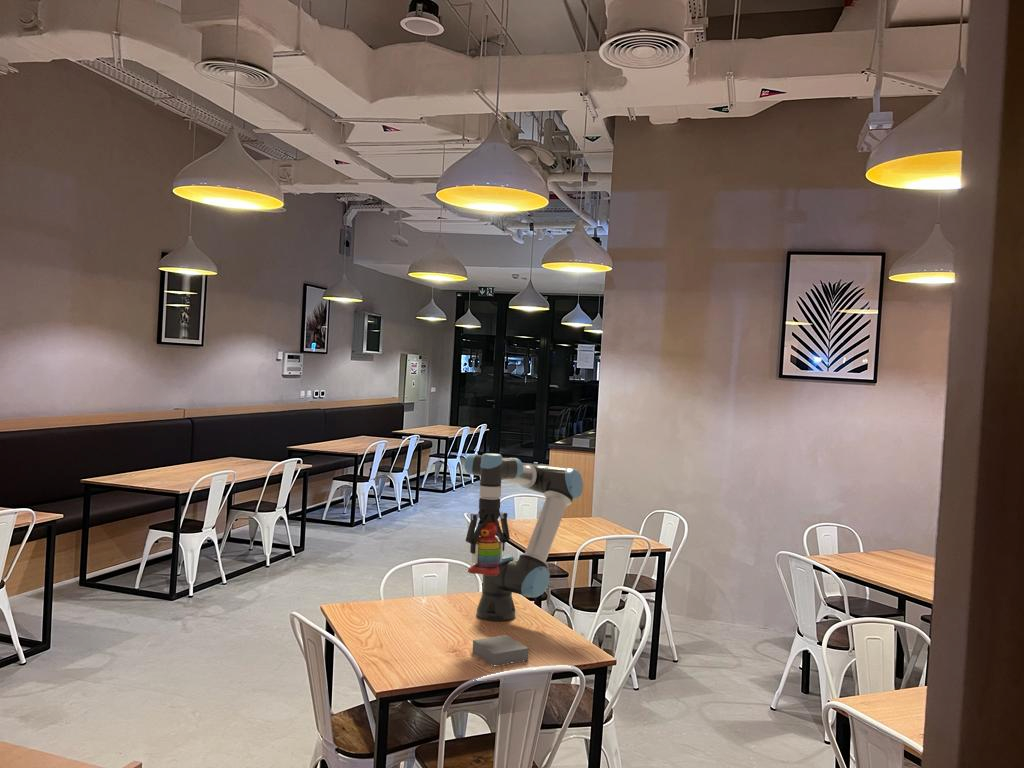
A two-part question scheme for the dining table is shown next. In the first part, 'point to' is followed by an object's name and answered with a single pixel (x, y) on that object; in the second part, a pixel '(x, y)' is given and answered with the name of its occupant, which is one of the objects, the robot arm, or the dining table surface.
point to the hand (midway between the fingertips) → (487, 561)
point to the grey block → (500, 650)
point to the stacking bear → (487, 552)
